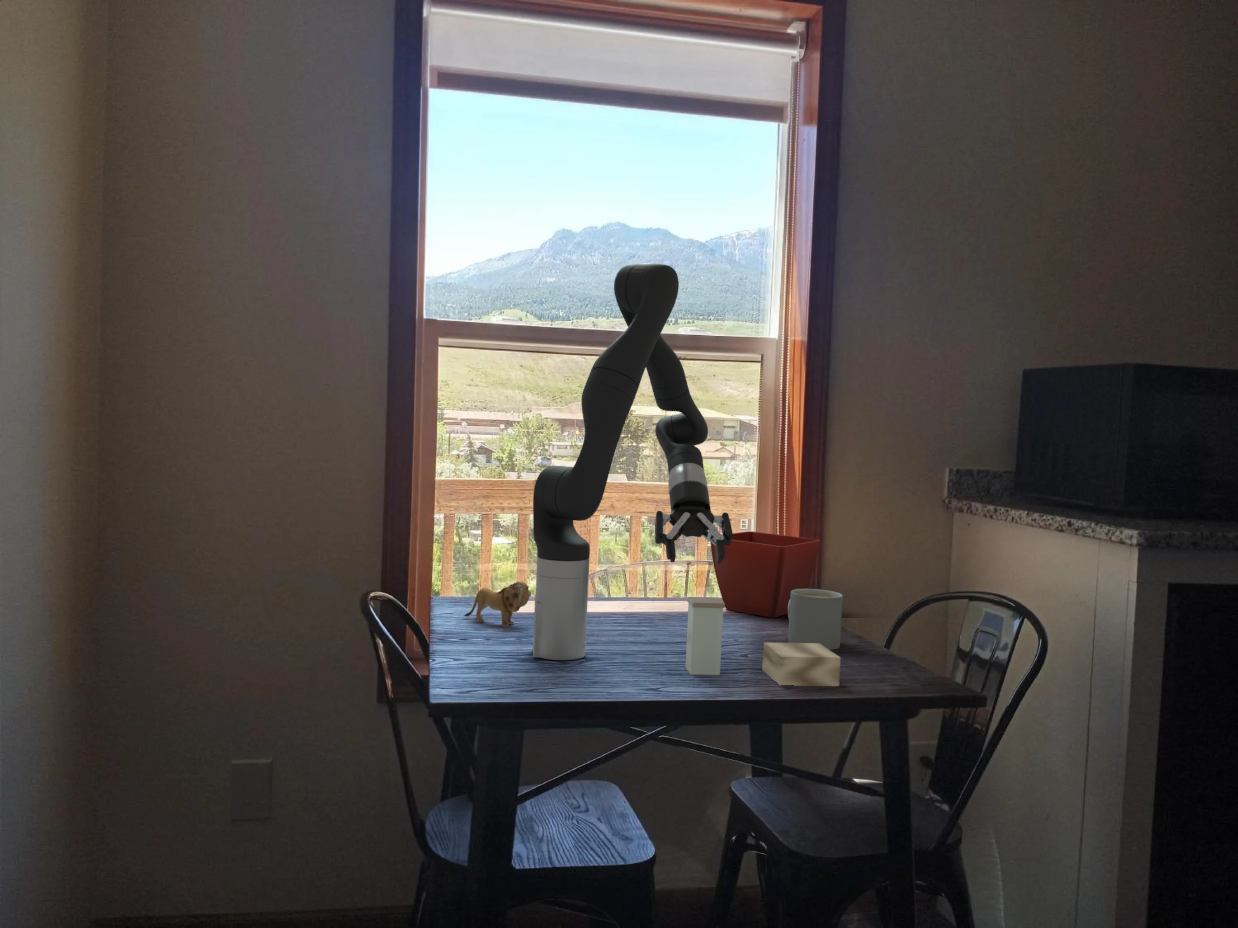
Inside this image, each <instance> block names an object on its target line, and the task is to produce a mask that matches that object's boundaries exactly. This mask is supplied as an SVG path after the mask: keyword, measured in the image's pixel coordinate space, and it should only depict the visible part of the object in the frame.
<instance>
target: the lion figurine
mask: <svg viewBox="0 0 1238 928" xmlns="http://www.w3.org/2000/svg"><path fill="white" fill-rule="evenodd" d="M529 587H530V586H529V585H528V584H527V583H526V582H525V581H517V582H514V583H511V584H510V585H508V586H505V587H503V588H501V589H500V590H499V591H494V590H492V589H490V588H488V587H483V588H481V589H479V590H478V591H477V593H476V596H475V598H474V602H473V606H472V608H471V610H470V611H469V612H467V613H466V614H464V615H463V616H464V617H470V616H471V615H473V612H475V609H476V607H477V610H476V615H475V616H476V620H477V623H479V624H480V623H481V624H482V623H484V619H483V615H482V611H484V610H485V609H487V608H488V607H489V608H490V609H491V610H494V611H500V613H501V626H502V627H503V628H508V627H509V626H510V625H509V624H513V625H514V624H515V622H514V621H512V616H513V613H517V612H518V611H519V610H520V609H521V608H522V607H524V606H526V605H527V604H528V602H529V600H530V597H531V596H532V591H530V590H529Z"/></svg>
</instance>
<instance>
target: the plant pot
mask: <svg viewBox="0 0 1238 928" xmlns="http://www.w3.org/2000/svg"><path fill="white" fill-rule="evenodd" d="M709 542H710V543H709V544H710V551H711V556H712V557H711V558H712V563H713V568H714V572H715V578H716V582H717V586H718V589H719V592H720V596H721V600H722V601H723V602H724V603H725V608H724V609H726V610H727V611H728V610H729V611H732V612H739V613H743V614H744V613H745V614H749V615H756V616H762V617H766V618H778V617H780V616H785V615H788V603H789V600H790V597H791V591H792V590H795V589H809V588H808V587H809V585H810V581H811V579H812V575H813V572H814V569H815V565H816V561H817V558H818V554H819V548H820V544H821V540H820V539H816V538H808V537H801V536H792V535H786V534H777V533H776V534H775V533H769V532H768V533H767V532H760V531H748V530H747V531H741V532H733V538H732V540H731V544H730V545H724V548H725V557H724V560H723V561H721V563H717V562H716V554H715V545H714V544H713V543H712V542H711V541H709Z"/></svg>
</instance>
